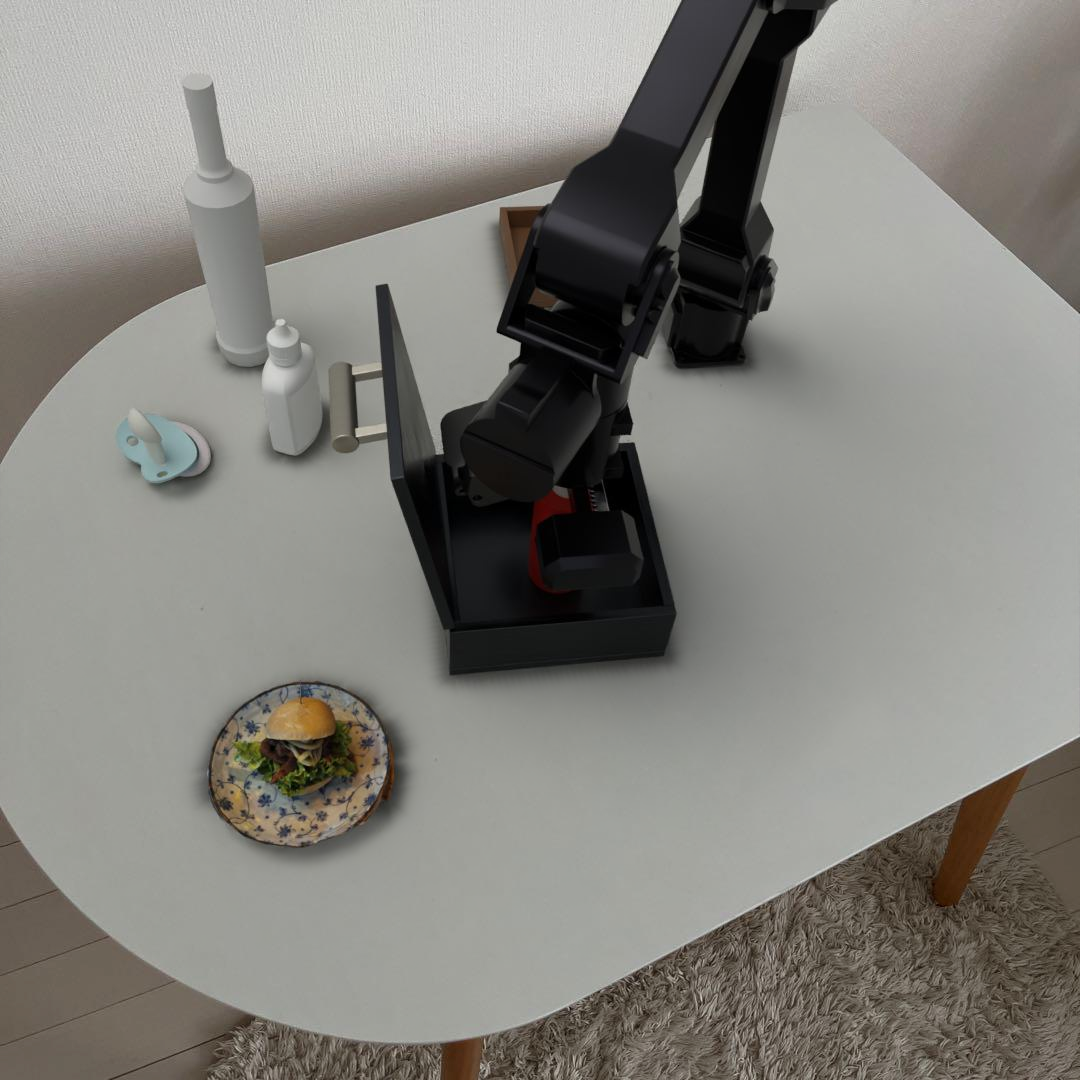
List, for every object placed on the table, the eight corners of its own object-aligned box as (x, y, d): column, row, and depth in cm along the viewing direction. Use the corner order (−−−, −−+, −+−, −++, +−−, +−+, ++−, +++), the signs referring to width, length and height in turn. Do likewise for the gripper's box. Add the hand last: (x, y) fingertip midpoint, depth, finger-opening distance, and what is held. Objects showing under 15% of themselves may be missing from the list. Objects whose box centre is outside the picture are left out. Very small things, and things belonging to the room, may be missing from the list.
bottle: (268, 374, 94) (219, 109, 74) (209, 362, 95) (145, 95, 75) (288, 333, 97) (247, 67, 77) (231, 321, 98) (175, 54, 78)
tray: (631, 224, 109) (635, 202, 107) (654, 302, 103) (658, 280, 101) (498, 229, 108) (499, 206, 106) (513, 308, 101) (514, 286, 99)
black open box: (625, 488, 90) (634, 441, 85) (664, 656, 81) (677, 613, 76) (431, 502, 88) (430, 454, 83) (449, 675, 79) (449, 633, 74)
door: (387, 282, 69) (318, 295, 69) (404, 477, 60) (324, 491, 60) (435, 449, 83) (377, 459, 83) (455, 628, 74) (390, 640, 74)
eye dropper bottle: (342, 429, 91) (329, 320, 82) (287, 464, 89) (267, 356, 79) (308, 400, 93) (292, 289, 83) (253, 433, 90) (230, 324, 81)
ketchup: (581, 542, 85) (597, 442, 75) (590, 591, 83) (608, 494, 73) (524, 546, 85) (533, 446, 75) (531, 596, 82) (542, 498, 72)
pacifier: (178, 415, 91) (112, 448, 88) (165, 359, 86) (94, 393, 84) (228, 468, 88) (161, 504, 86) (217, 413, 83) (146, 450, 81)
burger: (174, 810, 71) (149, 760, 65) (274, 666, 78) (259, 609, 72) (338, 890, 69) (327, 846, 63) (426, 734, 76) (424, 681, 70)
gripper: (437, 288, 72) (436, 449, 84) (466, 514, 61) (460, 660, 73) (605, 283, 74) (580, 441, 86) (662, 501, 63) (624, 646, 75)
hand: (559, 539), depth 80 cm, fingers closed on ketchup, 8 cm apart
